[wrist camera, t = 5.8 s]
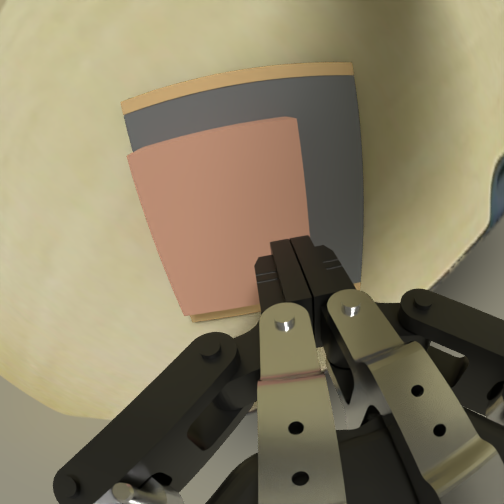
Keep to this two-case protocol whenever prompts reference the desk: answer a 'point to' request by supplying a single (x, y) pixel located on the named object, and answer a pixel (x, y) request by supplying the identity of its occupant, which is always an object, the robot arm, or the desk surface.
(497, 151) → the desk surface
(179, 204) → the slab
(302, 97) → the mat
